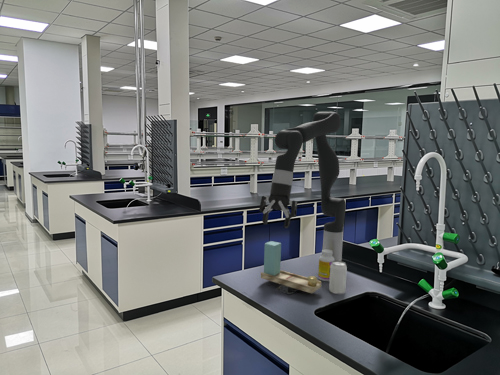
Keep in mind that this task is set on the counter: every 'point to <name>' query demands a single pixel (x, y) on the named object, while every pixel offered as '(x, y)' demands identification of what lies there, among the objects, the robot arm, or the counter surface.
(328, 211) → the robot arm
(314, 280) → the counterweight
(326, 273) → the supplement bottle
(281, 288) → the fulcrum
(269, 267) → the block
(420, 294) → the counter surface
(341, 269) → the can
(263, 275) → the beam
